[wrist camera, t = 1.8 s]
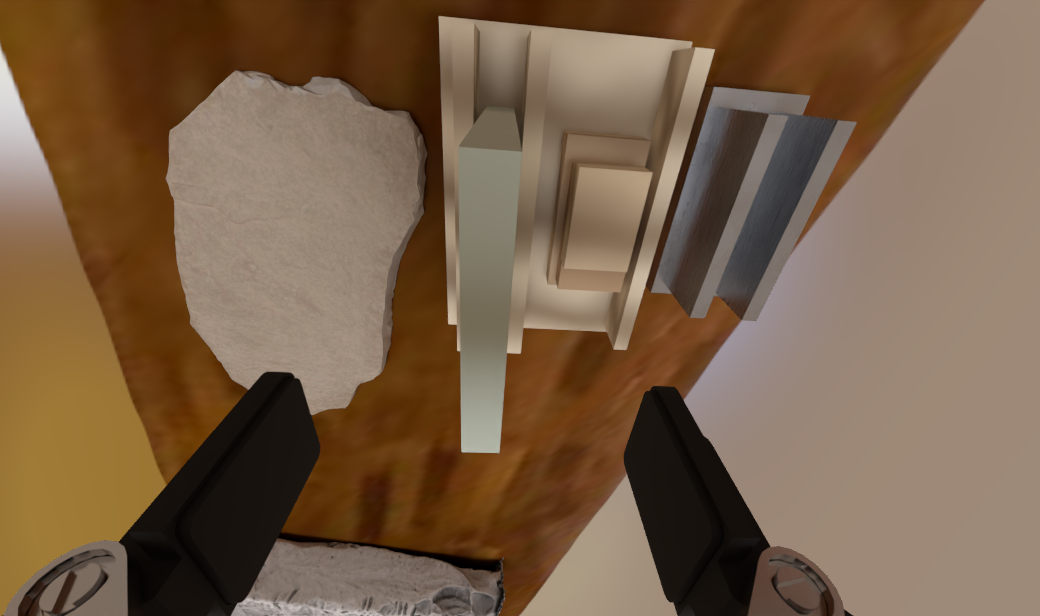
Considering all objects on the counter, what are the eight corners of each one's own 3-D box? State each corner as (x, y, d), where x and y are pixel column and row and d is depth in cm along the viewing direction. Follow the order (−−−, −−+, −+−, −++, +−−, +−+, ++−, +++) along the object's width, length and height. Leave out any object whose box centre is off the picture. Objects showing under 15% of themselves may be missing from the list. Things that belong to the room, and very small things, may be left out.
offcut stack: (564, 131, 23) (575, 141, 19) (643, 137, 23) (670, 149, 19) (545, 275, 28) (551, 306, 24) (610, 278, 28) (626, 310, 25)
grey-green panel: (487, 105, 22) (457, 146, 9) (513, 108, 22) (521, 151, 9) (482, 283, 28) (461, 452, 16) (503, 284, 28) (499, 453, 16)
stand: (702, 86, 23) (764, 89, 17) (794, 94, 23) (882, 100, 18) (645, 283, 30) (675, 329, 25) (714, 287, 31) (759, 333, 25)
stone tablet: (449, 121, 24) (443, 125, 22) (372, 417, 39) (364, 436, 37) (162, 1, 21) (123, -7, 18) (196, 376, 35) (176, 395, 33)
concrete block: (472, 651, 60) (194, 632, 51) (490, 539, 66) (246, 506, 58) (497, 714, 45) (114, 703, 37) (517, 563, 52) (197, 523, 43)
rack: (442, 19, 21) (423, 3, 16) (681, 43, 22) (729, 34, 17) (450, 314, 31) (440, 355, 27) (611, 322, 32) (628, 363, 28)
